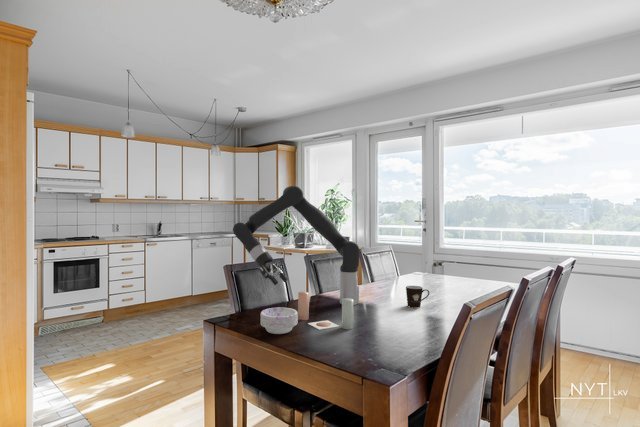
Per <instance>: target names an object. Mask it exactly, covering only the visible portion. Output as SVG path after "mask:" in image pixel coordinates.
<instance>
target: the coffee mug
mask: <svg viewBox="0 0 640 427" xmlns="http://www.w3.org/2000/svg"><path fill="white" fill-rule="evenodd" d="M405 290H406V291H405V292H406V302H407V307H408V306H410V307H409V308H412V307H419V308H420V307H421V304H422V302H423V301H424V300H425V299H427V298H428V297H429V295H430V290H428V289H427V288H426V289H424V287H423V286H420V285H406V286H405ZM426 291H427V295H426V296H425V297H423V292H426ZM422 297H423V298H422Z"/></svg>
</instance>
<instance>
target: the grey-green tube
mask: <svg viewBox="0 0 640 427" xmlns="http://www.w3.org/2000/svg"><path fill="white" fill-rule="evenodd" d="M341 329H343V330H347V331H348V330H353V329H354V305H353V299H351V298H344V299H342V304H341Z"/></svg>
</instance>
